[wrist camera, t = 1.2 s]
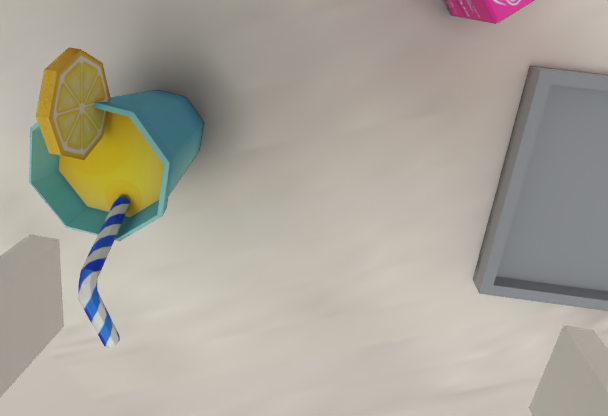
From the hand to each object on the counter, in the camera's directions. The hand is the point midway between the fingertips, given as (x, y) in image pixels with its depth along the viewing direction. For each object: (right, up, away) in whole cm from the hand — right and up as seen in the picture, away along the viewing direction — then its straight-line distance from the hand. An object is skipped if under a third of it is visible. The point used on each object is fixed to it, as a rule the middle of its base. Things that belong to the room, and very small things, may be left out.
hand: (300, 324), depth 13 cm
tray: (+21, +4, +21) cm, 30 cm away
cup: (-9, +8, +23) cm, 26 cm away
